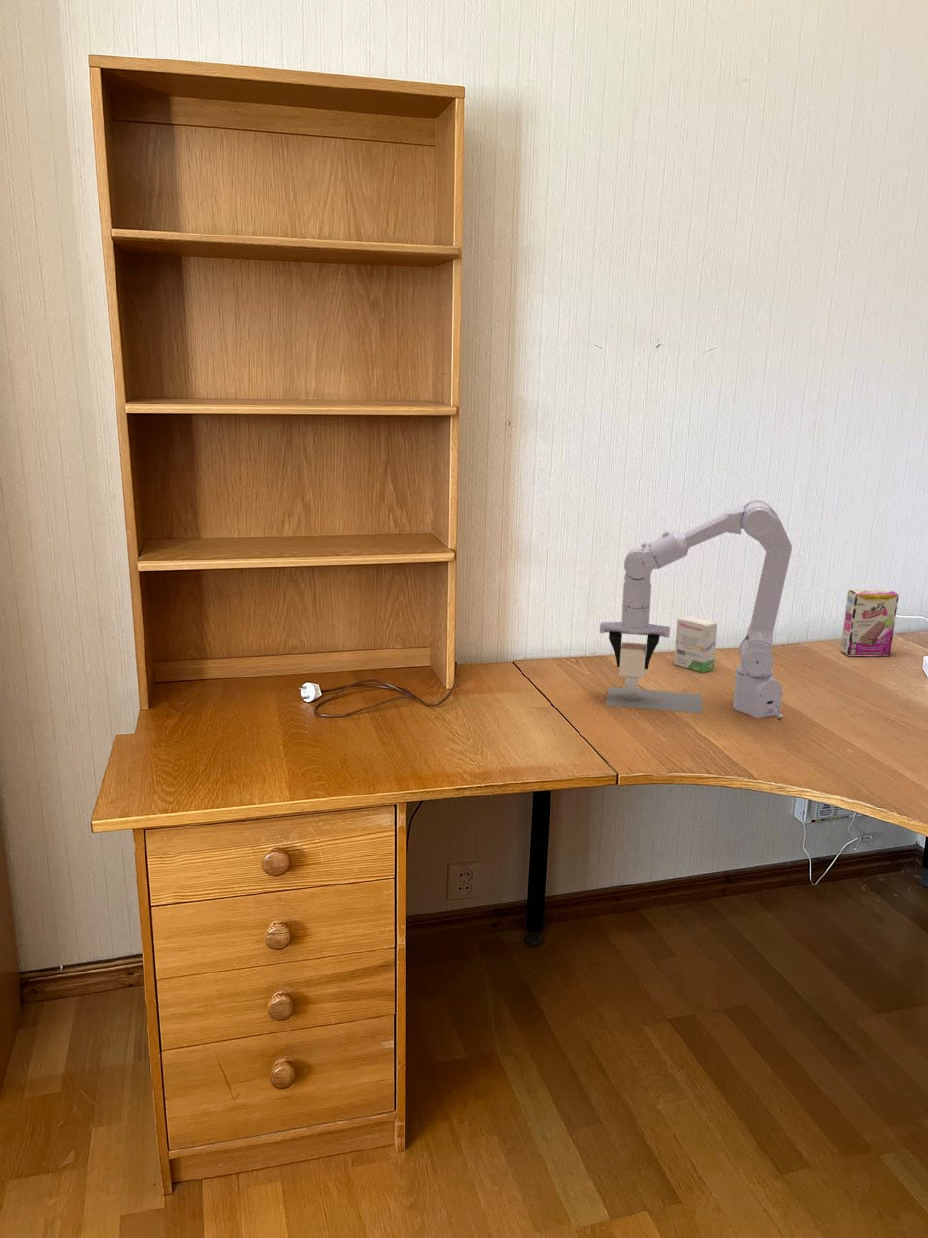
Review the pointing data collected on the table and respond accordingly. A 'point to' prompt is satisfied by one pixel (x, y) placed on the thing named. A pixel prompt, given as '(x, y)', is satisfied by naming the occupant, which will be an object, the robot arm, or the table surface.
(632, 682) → the post
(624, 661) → the peach bevelled cube
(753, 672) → the robot arm
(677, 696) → the board
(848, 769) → the table surface
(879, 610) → the candy bar box
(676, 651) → the ink box
